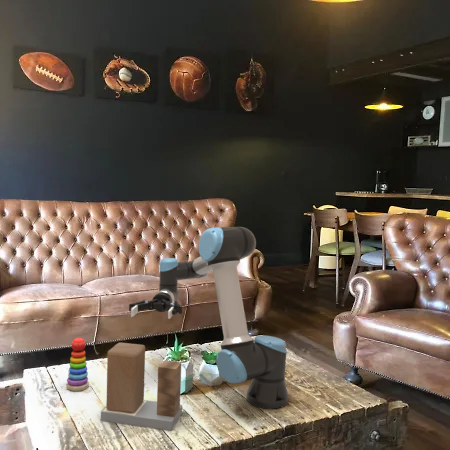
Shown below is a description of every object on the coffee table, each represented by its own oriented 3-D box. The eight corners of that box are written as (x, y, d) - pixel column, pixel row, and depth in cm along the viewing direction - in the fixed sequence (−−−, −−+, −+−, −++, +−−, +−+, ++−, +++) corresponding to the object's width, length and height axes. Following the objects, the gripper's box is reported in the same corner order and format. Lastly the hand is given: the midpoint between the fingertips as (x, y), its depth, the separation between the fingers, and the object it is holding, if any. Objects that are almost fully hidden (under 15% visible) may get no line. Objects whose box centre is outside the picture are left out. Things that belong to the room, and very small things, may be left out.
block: (134, 414, 161) (135, 354, 160) (105, 410, 163) (106, 351, 161) (144, 401, 171) (146, 344, 169) (117, 397, 173) (118, 341, 171)
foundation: (181, 413, 170) (182, 404, 170) (171, 430, 158) (171, 421, 158) (115, 404, 175) (115, 395, 174) (100, 420, 163) (100, 411, 163)
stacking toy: (91, 389, 186) (92, 340, 184) (70, 393, 181) (70, 343, 180) (84, 381, 192) (85, 334, 191) (63, 385, 188) (64, 337, 186)
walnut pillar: (179, 408, 167) (181, 362, 165) (174, 417, 161) (176, 369, 159) (162, 406, 168) (164, 360, 166) (156, 414, 162) (158, 367, 160)
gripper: (193, 311, 200) (184, 326, 179) (132, 308, 203) (116, 322, 182) (194, 293, 200) (184, 305, 179) (132, 290, 202) (116, 302, 181)
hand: (150, 314), depth 180 cm, fingers open, 13 cm apart
